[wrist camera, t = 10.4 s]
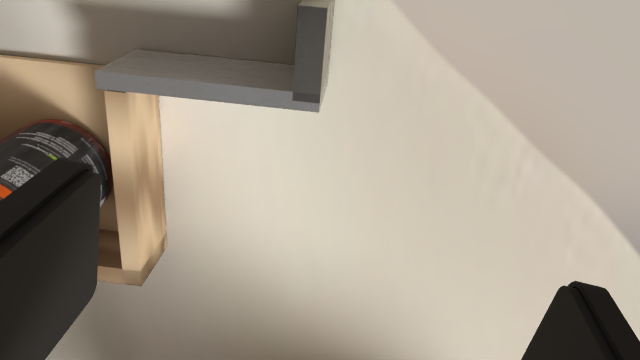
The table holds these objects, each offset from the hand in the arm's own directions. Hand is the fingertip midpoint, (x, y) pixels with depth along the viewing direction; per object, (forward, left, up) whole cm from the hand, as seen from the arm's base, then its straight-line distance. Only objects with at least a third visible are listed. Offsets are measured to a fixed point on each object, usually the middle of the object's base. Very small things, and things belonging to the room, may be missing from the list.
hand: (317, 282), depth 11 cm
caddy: (-7, +16, -18) cm, 25 cm away
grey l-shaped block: (+1, +6, -18) cm, 19 cm away
